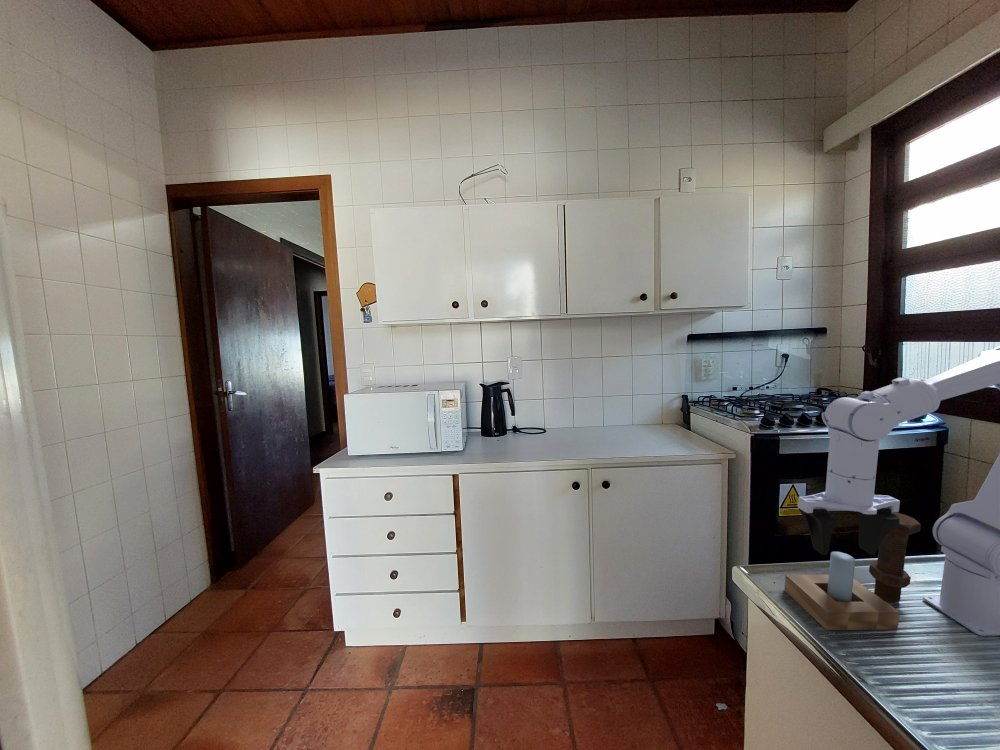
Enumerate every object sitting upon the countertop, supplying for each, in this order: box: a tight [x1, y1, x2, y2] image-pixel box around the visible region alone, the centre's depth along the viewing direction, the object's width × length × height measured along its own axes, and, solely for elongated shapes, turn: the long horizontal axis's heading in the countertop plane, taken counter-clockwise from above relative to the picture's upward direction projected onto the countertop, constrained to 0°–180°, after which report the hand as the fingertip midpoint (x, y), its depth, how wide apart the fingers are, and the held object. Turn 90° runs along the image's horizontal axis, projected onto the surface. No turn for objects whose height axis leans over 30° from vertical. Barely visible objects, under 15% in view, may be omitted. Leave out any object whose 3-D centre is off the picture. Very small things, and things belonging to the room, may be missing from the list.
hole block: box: [783, 574, 900, 631], centre depth 63 cm, size 11×9×3 cm
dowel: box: [827, 551, 856, 602], centre depth 63 cm, size 3×3×10 cm
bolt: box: [868, 512, 922, 604], centre depth 65 cm, size 6×5×15 cm
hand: (843, 551), depth 62 cm, fingers open, 7 cm apart
